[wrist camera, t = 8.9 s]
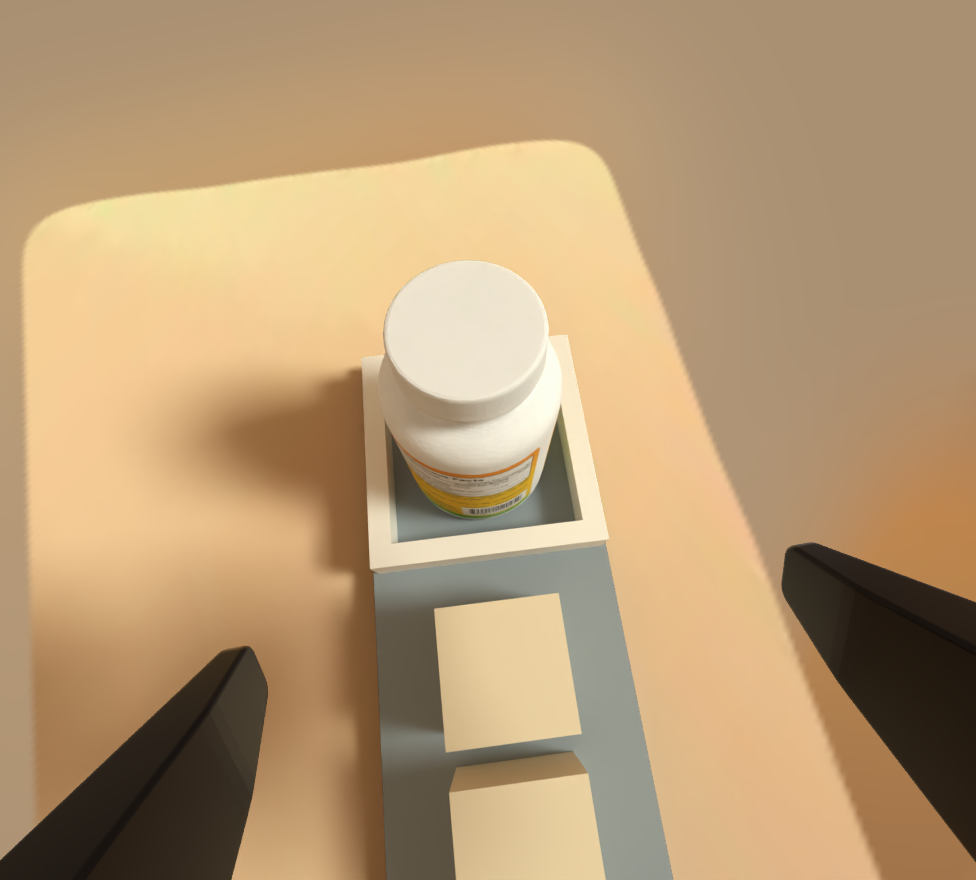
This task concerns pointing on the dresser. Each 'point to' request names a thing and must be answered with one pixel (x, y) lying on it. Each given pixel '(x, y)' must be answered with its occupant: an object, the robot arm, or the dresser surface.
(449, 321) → the supplement bottle
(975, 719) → the robot arm
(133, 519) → the dresser surface
